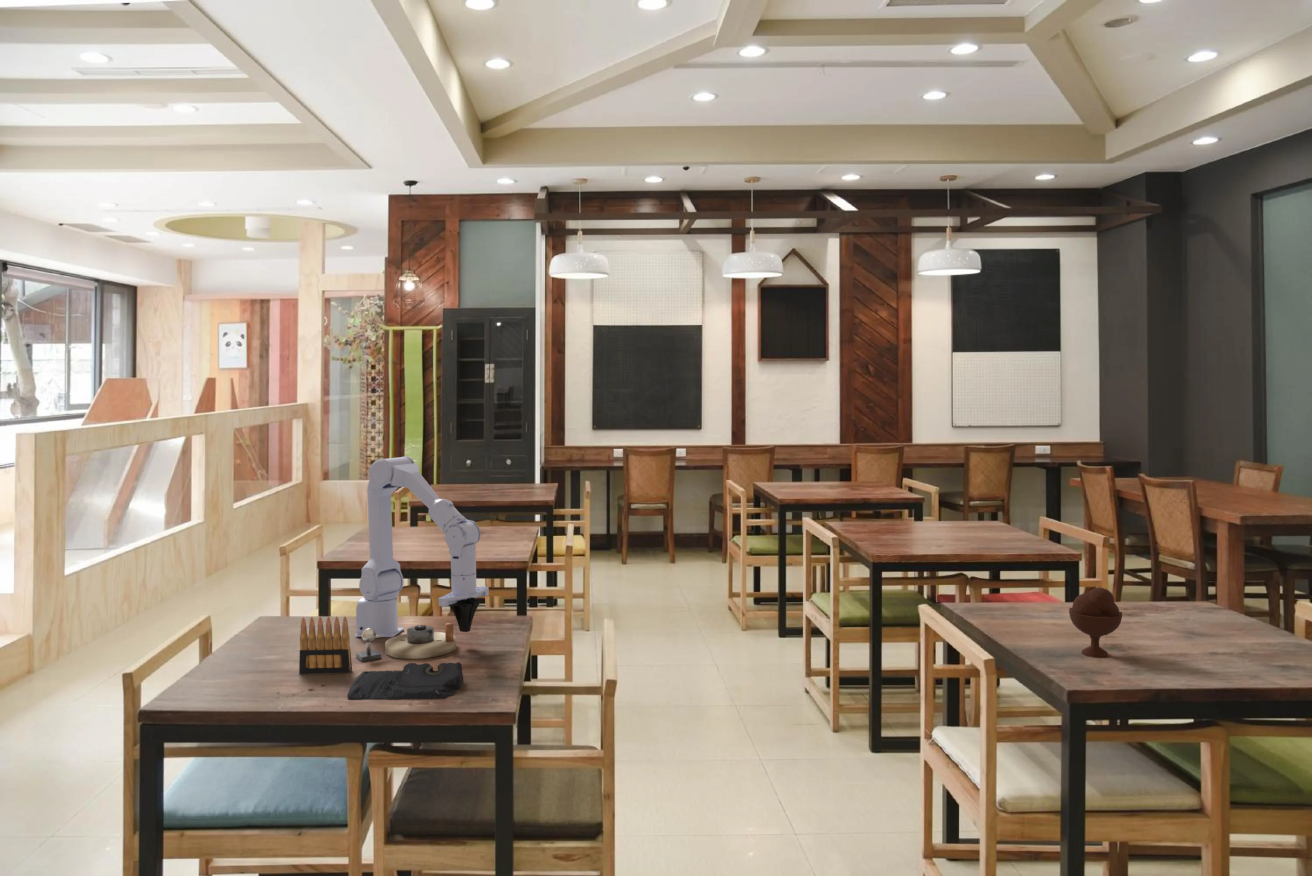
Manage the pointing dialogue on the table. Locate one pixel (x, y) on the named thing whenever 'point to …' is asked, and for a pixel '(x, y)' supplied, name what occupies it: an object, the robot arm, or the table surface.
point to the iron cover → (420, 634)
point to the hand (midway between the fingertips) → (464, 631)
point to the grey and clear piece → (369, 646)
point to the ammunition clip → (324, 648)
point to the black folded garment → (408, 683)
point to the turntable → (422, 645)
